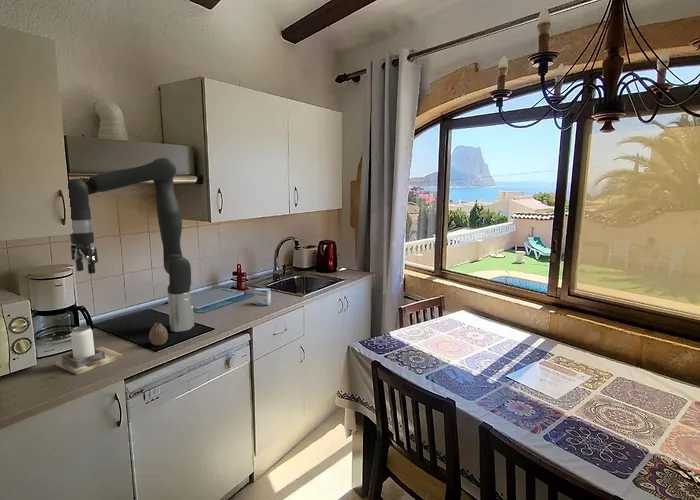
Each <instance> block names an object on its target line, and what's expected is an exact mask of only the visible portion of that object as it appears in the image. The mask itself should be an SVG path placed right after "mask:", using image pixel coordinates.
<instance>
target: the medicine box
mask: <svg viewBox="0 0 700 500" xmlns="http://www.w3.org/2000/svg"><path fill="white" fill-rule="evenodd" d="M253 293H254V294H253V295H254V296H253V297H254V298H253V300H254V301H253V303H254V304H256V305H255V306H260V305H269V304H270V303H272V299H271V298H272V297H271V296H272V295H271V293H272V292H271V288H262V287H256V288H254V291H253ZM254 304H253V305H254ZM270 305H271V304H270ZM270 305H269V306H270Z"/></svg>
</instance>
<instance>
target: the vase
mask: <svg viewBox="0 0 700 500" xmlns="http://www.w3.org/2000/svg"><path fill="white" fill-rule="evenodd" d="M168 336H169V334H168V330H167V328H166V327H165V326H164V325H163V324H162V322H155V323H153V326H152V328H151V329H150V330H149V333H148V339H149V342H150V343H151V344H152V345H154V347H155V346H156V347H157V346H162V345H164V344H165V343H166V342H167V341H168Z"/></svg>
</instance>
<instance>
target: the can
mask: <svg viewBox="0 0 700 500" xmlns="http://www.w3.org/2000/svg"><path fill="white" fill-rule="evenodd" d="M70 339H71V340H70V341H71V350H72V352H73V358H74V359H75V360H80V359H83V358H86V357H89V356H92V355H95V351H94V348H95V343H94V334H93V329H92V328H91V326H90V325H82V326H80V325H79V326H76V327H74V328H72V329H71V333H70Z"/></svg>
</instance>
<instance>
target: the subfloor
mask: <svg viewBox="0 0 700 500" xmlns="http://www.w3.org/2000/svg"><path fill="white" fill-rule="evenodd" d="M94 351H95V355H92V356H89V357H86V358H83V359H80V360H75V359H74V358H73V351H71V352H68V353H67V354H63V355H61V360H58V361H56V362H55V366H56V367H58V368H61V369H64V370H66V371H68V372H70V373H72V374H73V375H76V376H77V375H80V374H82V373H85V372H89V371H91V370H93V369H94V370H95V369H96V368H99V367H102V366H104V365H106V364H107V365H108V364H109V363H111V362H115V361H117V360H120V359H123V358H124V356H123V353H119V352H117V351H115V350H112V349H109V348H107V347H105V346H99V347H96V348H95V347H94Z"/></svg>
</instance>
